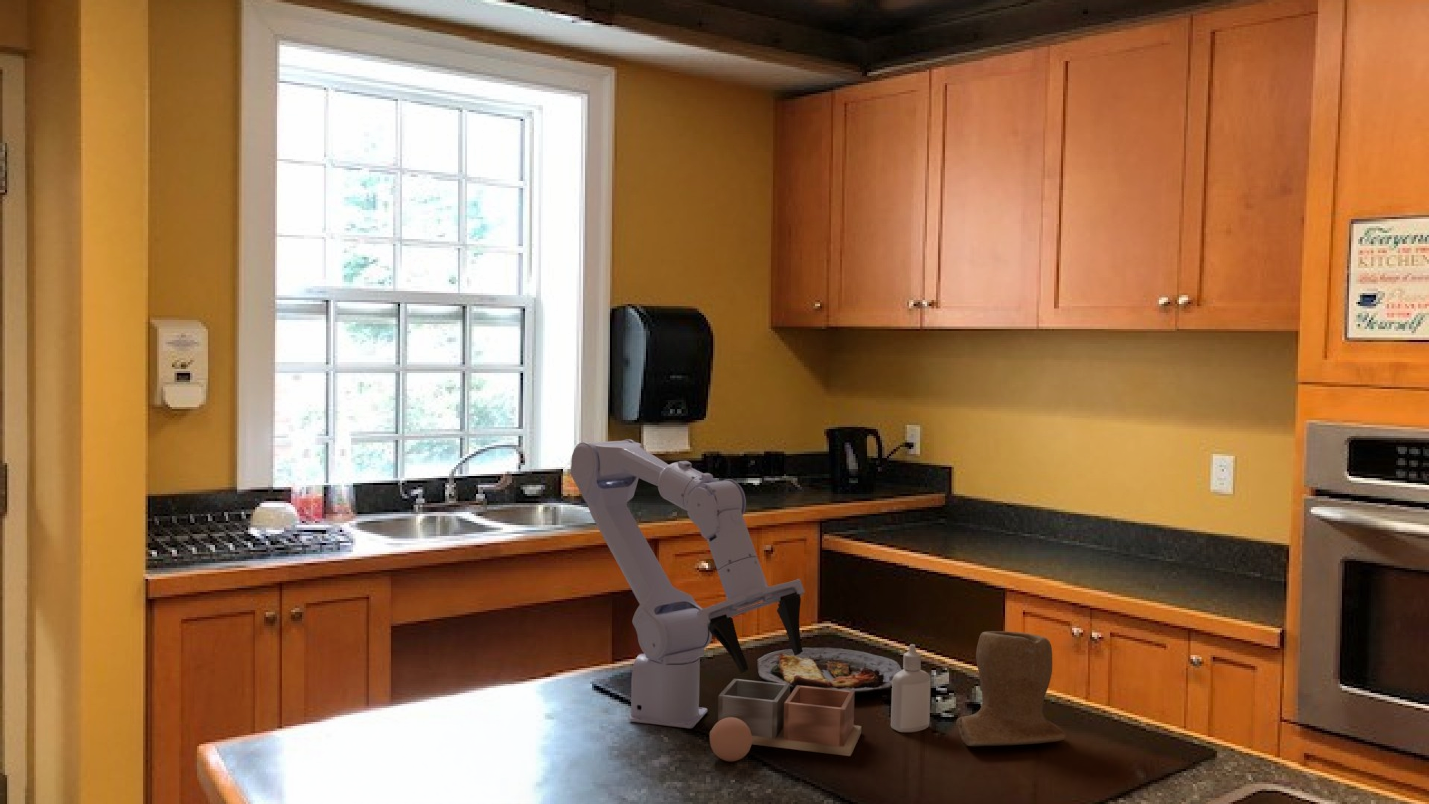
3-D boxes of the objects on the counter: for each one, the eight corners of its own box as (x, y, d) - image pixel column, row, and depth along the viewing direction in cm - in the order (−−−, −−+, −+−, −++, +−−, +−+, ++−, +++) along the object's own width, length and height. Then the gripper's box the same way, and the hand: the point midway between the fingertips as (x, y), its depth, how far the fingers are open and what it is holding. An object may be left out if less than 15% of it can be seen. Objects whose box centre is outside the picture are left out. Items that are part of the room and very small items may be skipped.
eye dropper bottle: (932, 734, 161) (935, 649, 160) (892, 733, 161) (894, 648, 160) (927, 723, 165) (929, 641, 165) (888, 722, 165) (890, 640, 165)
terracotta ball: (704, 764, 148) (705, 722, 147) (716, 750, 153) (716, 709, 153) (745, 770, 146) (746, 727, 146) (756, 755, 152) (756, 714, 151)
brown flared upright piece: (1034, 721, 167) (1038, 620, 166) (1076, 751, 155) (1080, 642, 154) (936, 727, 164) (939, 623, 163) (971, 757, 152) (975, 646, 151)
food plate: (914, 705, 173) (914, 682, 173) (759, 703, 173) (759, 680, 173) (891, 662, 198) (891, 642, 198) (755, 660, 198) (756, 640, 198)
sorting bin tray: (709, 739, 157) (710, 696, 157) (727, 717, 166) (728, 676, 166) (850, 756, 152) (851, 711, 151) (861, 733, 161) (862, 691, 160)
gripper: (690, 573, 149) (724, 674, 145) (793, 542, 153) (829, 639, 148) (684, 585, 155) (716, 683, 151) (782, 555, 159) (817, 650, 155)
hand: (771, 662), depth 150 cm, fingers open, 7 cm apart
